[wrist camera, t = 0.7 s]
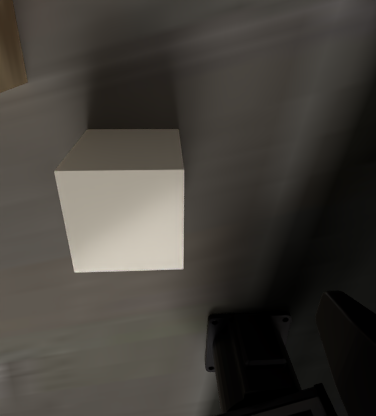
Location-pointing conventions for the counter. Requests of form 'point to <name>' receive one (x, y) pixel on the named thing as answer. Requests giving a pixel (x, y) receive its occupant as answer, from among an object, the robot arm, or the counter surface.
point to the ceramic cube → (124, 200)
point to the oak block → (10, 49)
